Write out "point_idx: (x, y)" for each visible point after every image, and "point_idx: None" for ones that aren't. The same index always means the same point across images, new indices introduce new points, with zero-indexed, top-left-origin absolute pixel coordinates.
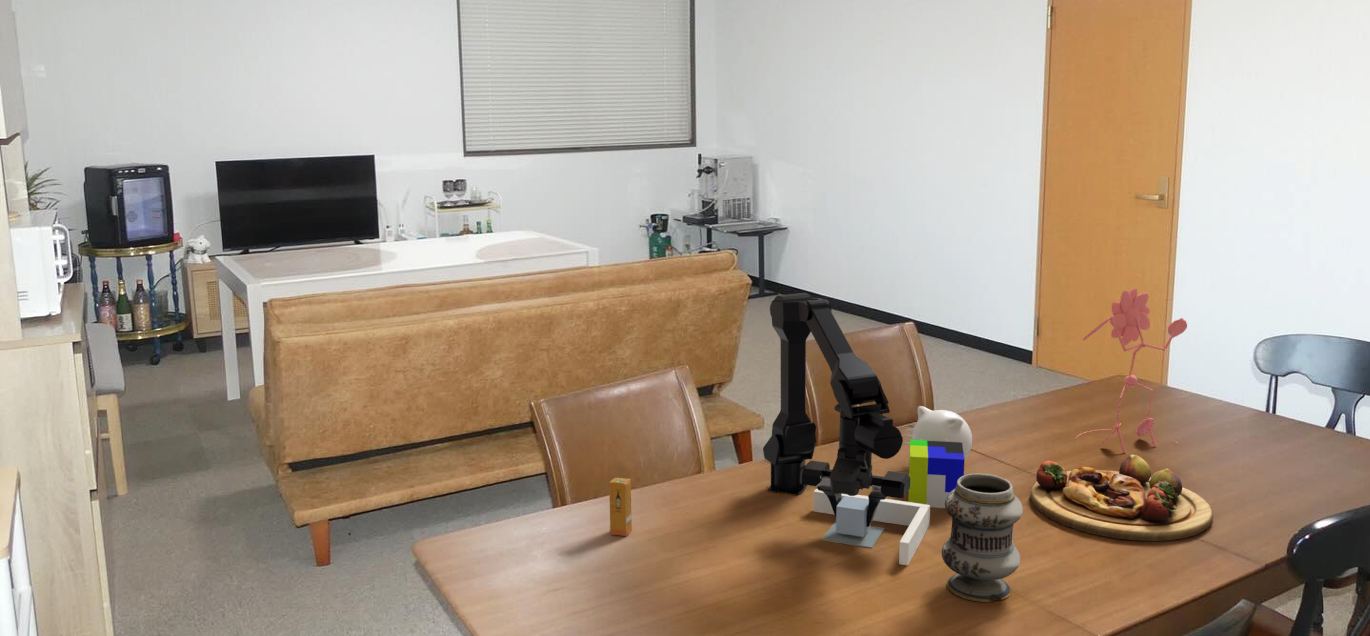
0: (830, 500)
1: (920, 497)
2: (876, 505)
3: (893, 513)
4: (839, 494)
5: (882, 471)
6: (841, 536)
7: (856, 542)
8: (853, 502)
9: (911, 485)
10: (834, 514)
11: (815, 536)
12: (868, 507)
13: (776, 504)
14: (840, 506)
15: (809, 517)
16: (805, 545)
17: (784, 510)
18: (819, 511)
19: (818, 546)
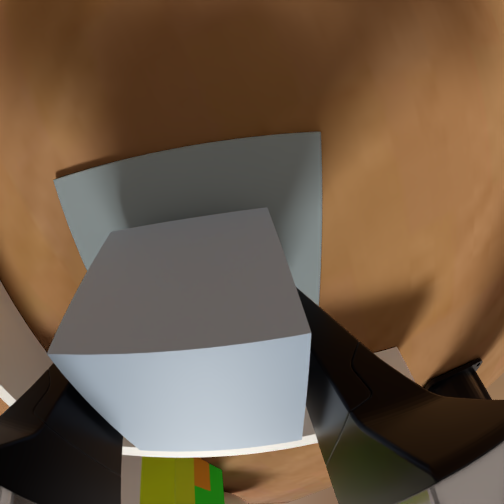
0: (385, 373)
1: (152, 463)
2: (12, 405)
3: None
4: (329, 445)
5: (285, 475)
6: None
7: (134, 186)
8: (208, 422)
9: (170, 486)
10: (317, 305)
11: (362, 162)
12: (61, 393)
13: (477, 323)
14: (270, 346)
15: (407, 311)
16: (371, 40)
17: (466, 308)
18: (380, 353)
19: (307, 48)
